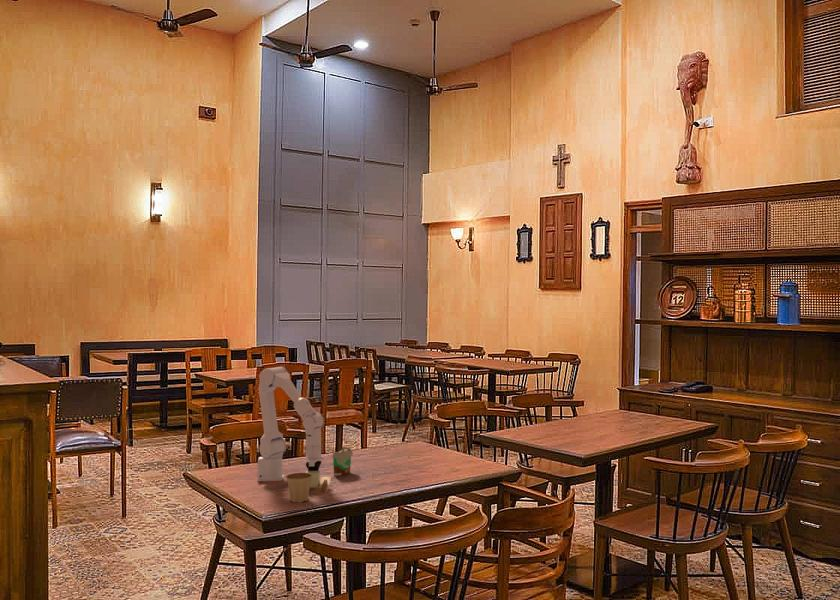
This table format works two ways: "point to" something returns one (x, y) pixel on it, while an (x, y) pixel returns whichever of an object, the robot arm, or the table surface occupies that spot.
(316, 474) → the cream rectangular block
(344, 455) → the food container
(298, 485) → the flower pot
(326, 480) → the dock board
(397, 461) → the table surface
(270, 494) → the table surface
